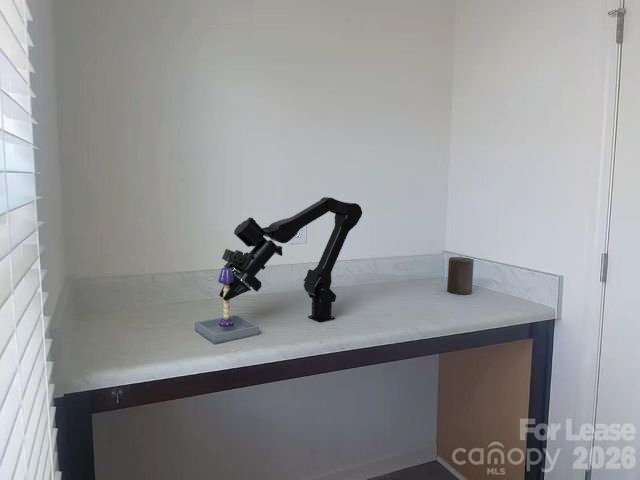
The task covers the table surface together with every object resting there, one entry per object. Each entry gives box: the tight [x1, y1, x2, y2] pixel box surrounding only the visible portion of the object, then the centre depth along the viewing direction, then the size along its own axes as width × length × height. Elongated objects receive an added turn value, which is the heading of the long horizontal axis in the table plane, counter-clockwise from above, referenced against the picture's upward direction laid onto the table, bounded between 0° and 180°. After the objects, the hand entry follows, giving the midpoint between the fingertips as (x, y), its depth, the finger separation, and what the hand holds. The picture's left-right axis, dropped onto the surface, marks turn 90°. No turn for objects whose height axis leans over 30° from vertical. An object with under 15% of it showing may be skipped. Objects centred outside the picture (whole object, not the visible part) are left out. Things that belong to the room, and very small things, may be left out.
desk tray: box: [194, 314, 260, 346], centre depth 132 cm, size 14×14×2 cm
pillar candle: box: [446, 256, 475, 296], centre depth 185 cm, size 10×10×15 cm
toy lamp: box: [218, 267, 234, 327], centre depth 131 cm, size 5×5×17 cm
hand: (222, 298), depth 130 cm, fingers closed on toy lamp, 4 cm apart
